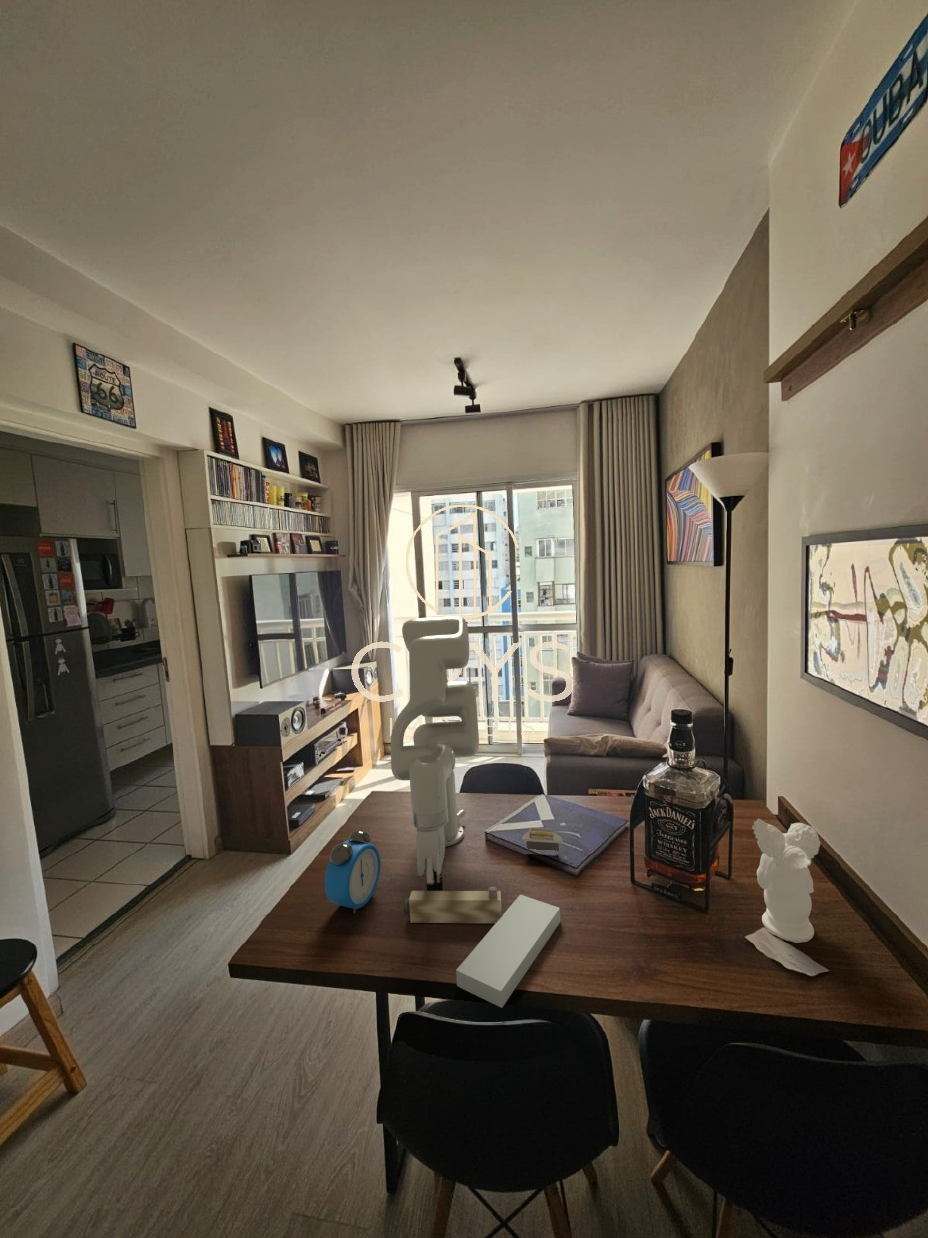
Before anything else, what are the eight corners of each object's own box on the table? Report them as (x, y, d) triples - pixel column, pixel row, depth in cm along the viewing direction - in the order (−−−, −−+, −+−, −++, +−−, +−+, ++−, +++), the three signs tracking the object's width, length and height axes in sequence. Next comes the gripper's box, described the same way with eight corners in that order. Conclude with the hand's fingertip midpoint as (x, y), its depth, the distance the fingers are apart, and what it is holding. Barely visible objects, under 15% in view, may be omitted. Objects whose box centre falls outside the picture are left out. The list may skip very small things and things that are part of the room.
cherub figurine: (807, 915, 104) (811, 809, 101) (841, 962, 91) (846, 843, 89) (742, 910, 106) (744, 807, 103) (766, 955, 93) (769, 839, 91)
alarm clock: (349, 923, 109) (343, 855, 107) (325, 917, 111) (319, 850, 110) (383, 887, 120) (378, 825, 119) (361, 882, 123) (356, 821, 121)
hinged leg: (501, 913, 109) (500, 884, 108) (501, 923, 105) (500, 894, 105) (407, 912, 110) (405, 884, 110) (404, 923, 107) (402, 893, 107)
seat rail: (521, 907, 110) (520, 894, 110) (560, 922, 105) (559, 908, 105) (457, 986, 91) (456, 970, 90) (501, 1008, 86) (500, 991, 85)
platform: (511, 840, 139) (510, 816, 138) (580, 844, 135) (579, 820, 134) (504, 865, 127) (503, 840, 127) (579, 871, 123) (578, 845, 122)
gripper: (418, 799, 118) (423, 876, 120) (405, 833, 103) (412, 920, 105) (451, 799, 117) (456, 876, 119) (443, 833, 102) (449, 920, 104)
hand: (435, 896), depth 112 cm, fingers closed
